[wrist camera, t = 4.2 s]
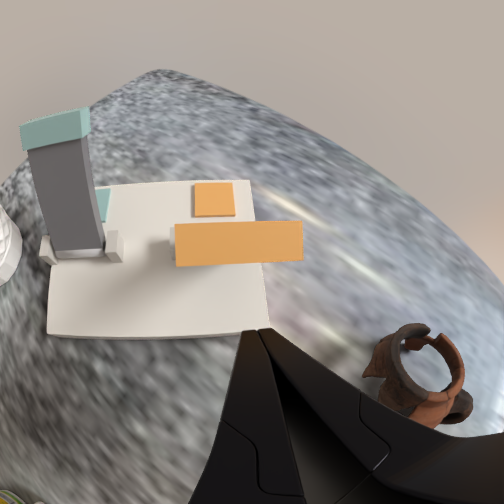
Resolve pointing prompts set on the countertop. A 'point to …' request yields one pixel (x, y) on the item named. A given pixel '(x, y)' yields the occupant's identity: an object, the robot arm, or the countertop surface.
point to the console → (156, 269)
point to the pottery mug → (407, 391)
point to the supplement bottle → (9, 498)
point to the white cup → (9, 247)
